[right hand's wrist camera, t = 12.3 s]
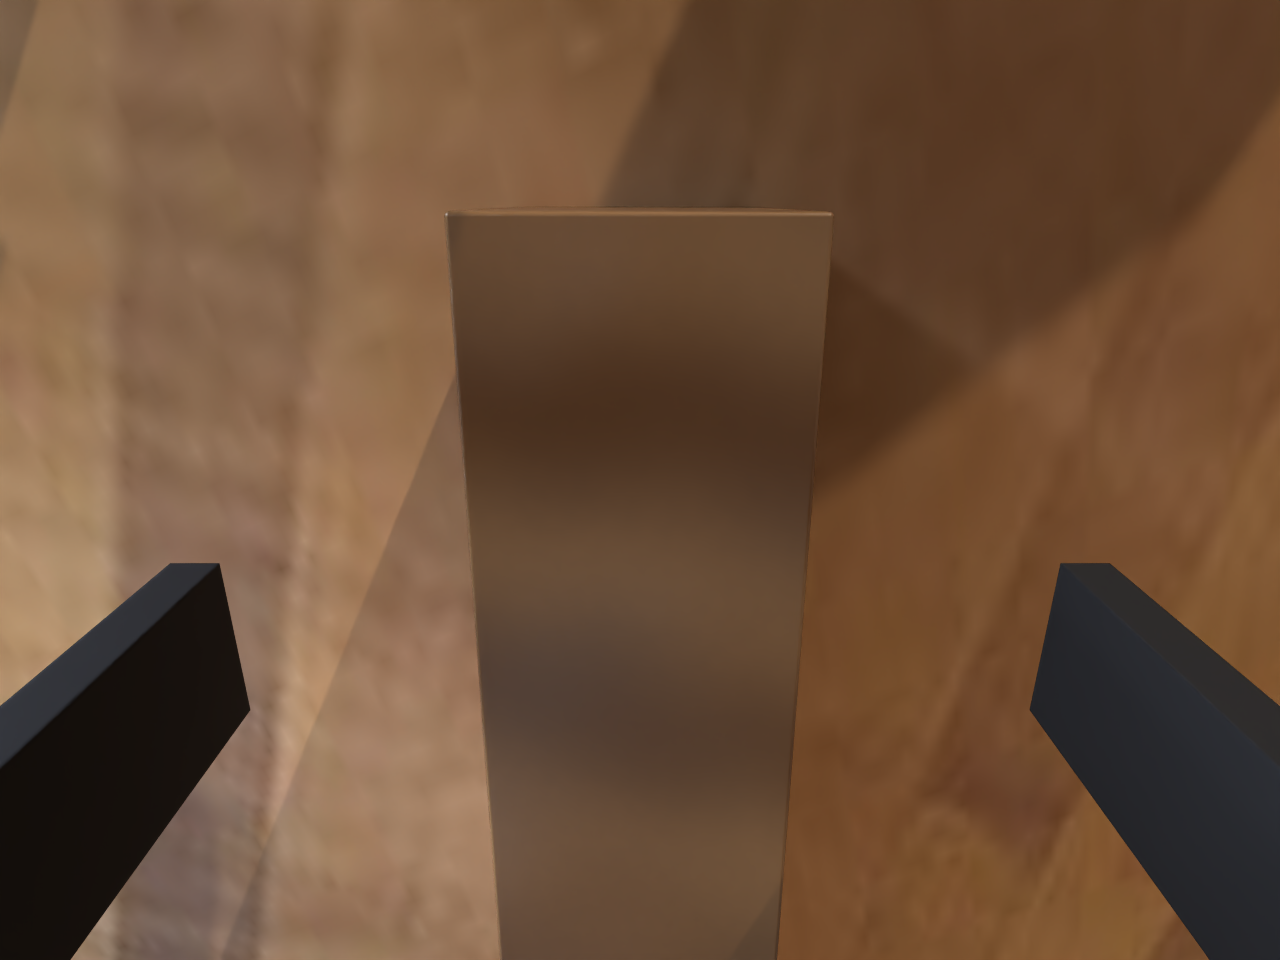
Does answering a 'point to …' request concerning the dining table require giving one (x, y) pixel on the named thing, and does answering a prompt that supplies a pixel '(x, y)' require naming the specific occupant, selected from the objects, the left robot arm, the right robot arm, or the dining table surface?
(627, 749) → the beam
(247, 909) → the dining table surface
